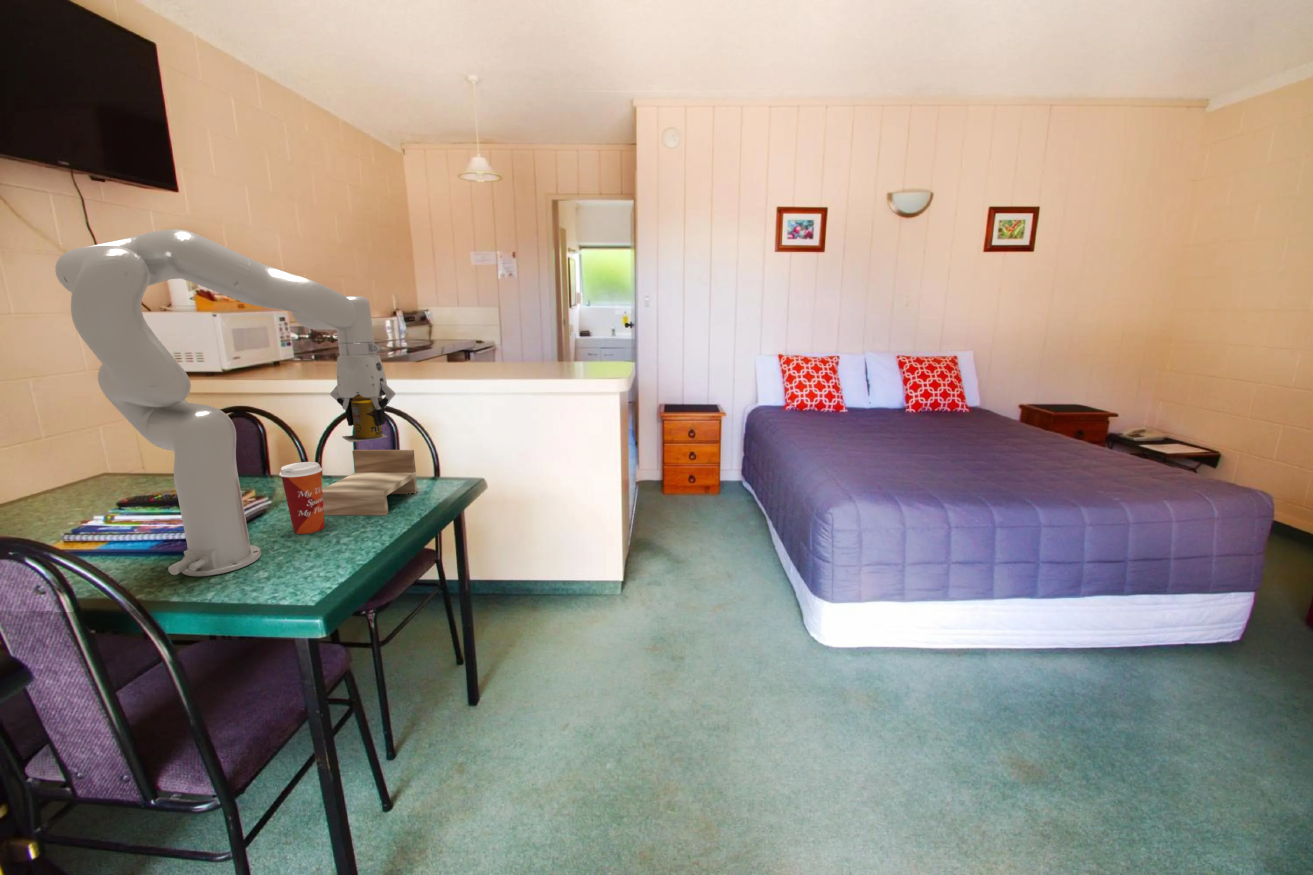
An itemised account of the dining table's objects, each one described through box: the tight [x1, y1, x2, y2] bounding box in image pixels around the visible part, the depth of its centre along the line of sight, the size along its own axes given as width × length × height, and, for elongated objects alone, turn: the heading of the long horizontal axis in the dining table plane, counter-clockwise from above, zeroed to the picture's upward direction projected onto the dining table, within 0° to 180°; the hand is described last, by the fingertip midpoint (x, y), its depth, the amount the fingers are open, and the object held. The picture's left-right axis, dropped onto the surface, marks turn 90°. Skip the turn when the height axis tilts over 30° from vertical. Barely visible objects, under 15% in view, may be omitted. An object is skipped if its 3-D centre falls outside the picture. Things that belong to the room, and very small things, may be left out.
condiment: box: [341, 392, 388, 443], centre depth 136 cm, size 7×8×12 cm
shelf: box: [322, 449, 419, 516], centre depth 145 cm, size 18×16×12 cm
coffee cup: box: [279, 461, 325, 535], centre depth 127 cm, size 8×8×15 cm
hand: (366, 424), depth 137 cm, fingers closed on condiment, 6 cm apart
